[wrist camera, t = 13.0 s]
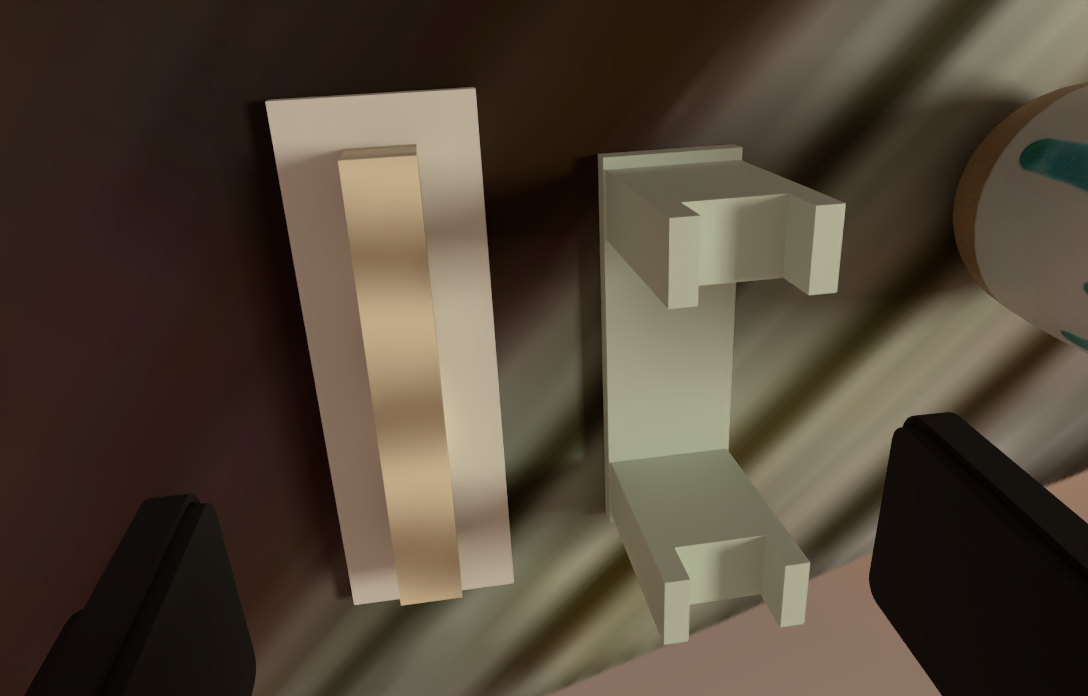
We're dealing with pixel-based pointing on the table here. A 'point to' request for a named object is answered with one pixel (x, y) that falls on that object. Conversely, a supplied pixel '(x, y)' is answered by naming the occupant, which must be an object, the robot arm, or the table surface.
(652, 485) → the cradle stand
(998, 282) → the vase
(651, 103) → the table surface
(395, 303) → the rail
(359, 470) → the felt mat
